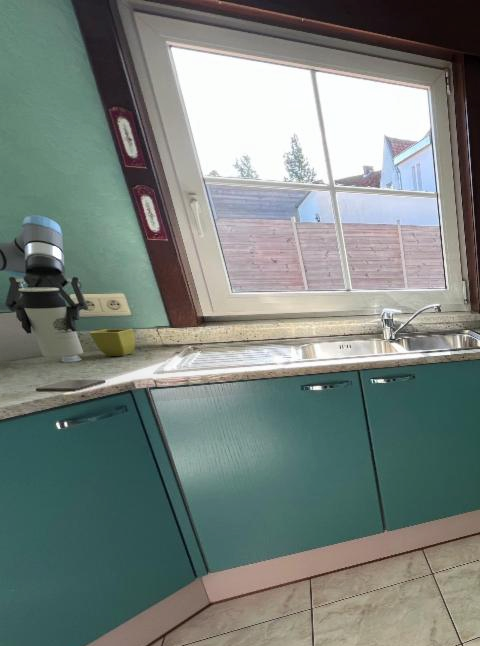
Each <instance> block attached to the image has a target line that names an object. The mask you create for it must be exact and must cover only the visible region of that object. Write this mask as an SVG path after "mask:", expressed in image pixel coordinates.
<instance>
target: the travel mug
mask: <svg viewBox="0 0 480 646" xmlns="http://www.w3.org/2000/svg"><path fill="white" fill-rule="evenodd" d="M18 290H19V291H20V292H21V296H22V295H23V296H24V297H23V300H22V304H23V306H24V309H25V311H26V314H27V316H28V319H29V321H30V324H31V330H32V331H33V334H34V336H35V339H36V342H37V343H38V347H39V349H40V351H41V354H42V356H43V357H45V358H51V359H53V358H54V359H55V358H62V357H70V356H76V355H78V356H79V355H82V354H84V350H83V347H82V344H81V341H80V339H79V335H78V334H77V330H76V331H75V332H72V330H71V329H70V328H69V326H68V322H67V309H66V306H67V302H66V301H65V300H64V299H63V297H62V296H61V295H60V294H59V292H58V290H59V288H27V287H23V288H21V289H18Z"/></svg>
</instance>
